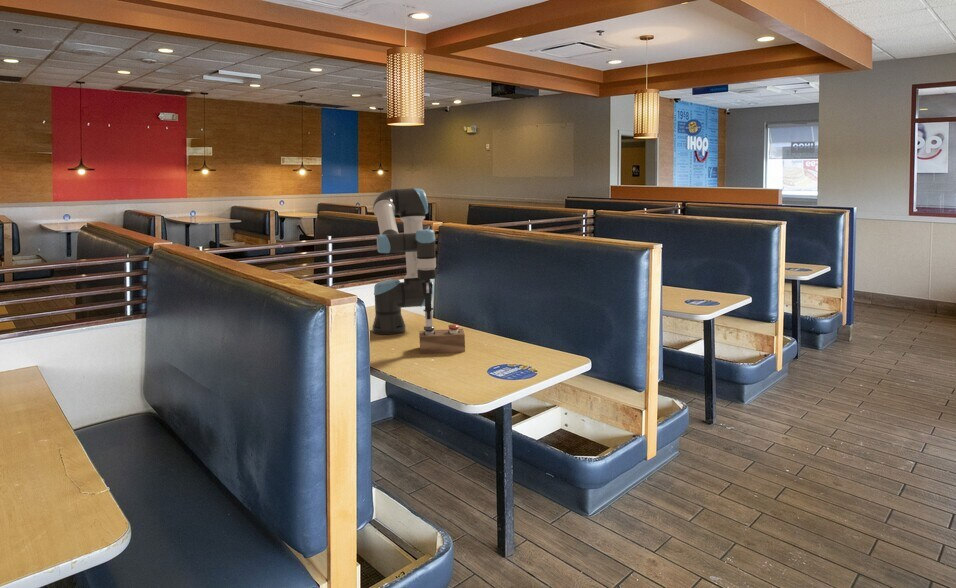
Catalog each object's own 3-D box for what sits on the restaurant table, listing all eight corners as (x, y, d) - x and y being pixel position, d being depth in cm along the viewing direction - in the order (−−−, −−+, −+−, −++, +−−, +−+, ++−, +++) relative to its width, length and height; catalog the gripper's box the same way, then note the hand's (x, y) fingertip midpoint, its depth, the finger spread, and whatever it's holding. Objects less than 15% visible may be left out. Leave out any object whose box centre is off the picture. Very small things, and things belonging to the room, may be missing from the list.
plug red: (448, 342, 268) (448, 324, 266) (459, 341, 268) (458, 324, 267) (449, 345, 264) (448, 327, 262) (459, 344, 264) (459, 326, 262)
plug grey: (424, 343, 267) (423, 326, 265) (434, 343, 267) (434, 325, 266) (424, 346, 263) (423, 328, 261) (435, 346, 263) (434, 327, 262)
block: (420, 347, 270) (419, 330, 269) (463, 345, 271) (462, 328, 270) (420, 353, 260) (419, 336, 259) (465, 351, 262) (464, 334, 260)
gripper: (417, 266, 265) (419, 323, 269) (417, 271, 252) (419, 330, 257) (435, 266, 266) (437, 322, 270) (436, 270, 253) (438, 329, 257)
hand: (429, 326), depth 263 cm, fingers closed
